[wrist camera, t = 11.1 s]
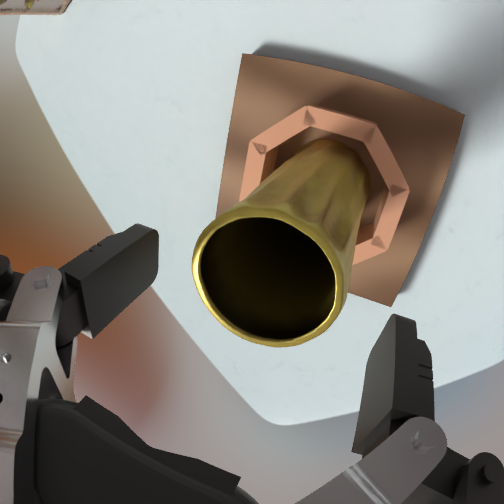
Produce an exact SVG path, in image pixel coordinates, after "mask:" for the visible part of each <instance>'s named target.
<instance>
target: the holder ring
mask: <svg viewBox="0 0 504 504" xmlns="http://www.w3.org/2000/svg"><path fill="white" fill-rule="evenodd" d="M311 127H315V128H319V129H322V130H326V131H330V132H333V133H337V134H340V135H343V136H347V137H350V138H353V139H356V140H360V141H363V142H364V144H365V145H366V147H367V149H368V151H369V152H370V154H371V156H372V158H373V160H374V162H375V163H376V165H377V167H378V169H379V171H380V173H381V175H382V177H383V179H384V181H385V183H386V186H385V189H384V192H383V195H382V198H381V201H380V204H379V207H378V210H377V213H376V216H375V219H374V222H372V223H370V224H368V225H366V226H363V227H361V228H359V230H358V234H357V239H356V246H355V253H354V259H353V264H352V265H354V264H357V263H359V262H362V261H364V260H366V259H369V258H371V257H374V256H376V255H378V254H381V253H383V252H385V251H386V250H388V248H389V245H390V243H391V240H392V238H393V235H394V232H395V230H396V227H397V225H398V222H399V219H400V217H401V214H402V211H403V208H404V206H405V203H406V200H407V197H408V194H409V191H410V190H409V186H408V184H407V181H406V179H405V177H404V175H403V173H402V171H401V169H400V167H399V165H398V163H397V161H396V159H395V157H394V155H393V153H392V151H391V149H390V147H389V145H388V144H387V142H386V140H385V138H384V136H383V134H382V133H381V131H380V129H379V127H378V126H377V124H375V122H372V121H369V120H366V119H362V118H359V117H356V116H353V115H349V114H346V113H342V112H339V111H335V110H331V109H328V108H324V107H320V106H316V105H308V106H304V107H303V108H301V109H299V110H298V111H296V112H294V113H293V114H291V115H289V116H288V117H286V118H285V119H283V120H281V121H280V122H278V123H277V124H275V125H273V126H272V127H270V128H269V129H267V130H266V131H264V132H262V133H261V134H259V135H258V136H256V137H255V138H253V139H252V140H250V142H249V147H248V153H247V158H246V164H245V170H244V175H243V181H242V187H241V193H240V198H239V201H240V202H241V201H242V200H243V199H245V198H246V197H247V196H248V195H249V194H250V193H251V192H252V191H253V190H254V189H255V188H256V187H257V186H258V185H259V184H260V183H262V182H263V181H264V180H265V179H266V178H267V177H269V176H270V175H271V174H272V173H273V172H274V168H275V163H276V158H277V153H278V148H279V146H280V145H282V144H284V143H285V142H287V141H289V140H290V139H292V138H294V137H295V136H297V135H299V134H300V133H302V132H304V131H306V130H307V129H309V128H311Z"/></svg>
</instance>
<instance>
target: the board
mask: <svg viewBox="0 0 504 504" xmlns="http://www.w3.org/2000/svg"><path fill="white" fill-rule="evenodd" d="M308 105H316V106H320V107H324V108H328V109H331V110H335V111H339V112H342V113H346V114H349V115H353V116H356V117H359V118H362V119H366V120H369V121H372V122H375V124H377V126H378V127H379V129H380V131H381V133H382V134H383V136H384V138H385V140H386V142H387V144H388V145H389V147H390V149H391V151H392V153H393V155H394V157H395V159H396V161H397V163H398V165H399V167H400V169H401V171H402V173H403V175H404V177H405V179H406V181H407V184H408V186H409V190H410V191H409V194H408V197H407V200H406V203H405V206H404V208H403V211H402V214H401V217H400V219H399V222H398V225H397V227H396V230H395V232H394V235H393V238H392V240H391V243H390V245H389V248H388V250H386V251H385V252H383V253H381V254H378V255H376V256H374V257H371V258H369V259H366V260H364V261H362V262H359V263H357V264H354V265H352V270H351V277H350V283H349V288H348V293H351V294H354V295H357V296H360V297H363V298H366V299H369V300H372V301H375V302H377V303H380V304H383V305H386V306H389V307H391V306H392V305H393V303H394V301H395V299H396V297H397V295H398V293H399V291H400V288H401V286H402V284H403V282H404V280H405V278H406V276H407V274H408V272H409V269H410V267H411V265H412V263H413V261H414V258H415V256H416V254H417V252H418V249H419V247H420V245H421V242H422V240H423V238H424V235H425V233H426V230H427V228H428V225H429V223H430V220H431V218H432V215H433V213H434V210H435V207H436V205H437V202H438V199H439V197H440V194H441V191H442V188H443V186H444V183H445V180H446V177H447V174H448V171H449V168H450V165H451V162H452V158H453V155H454V152H455V149H456V145H457V142H458V138H459V135H460V131H461V128H462V124H463V120H464V116H465V115H464V114H462V113H460V112H457V111H455V110H453V109H450V108H448V107H446V106H443V105H441V104H438V103H436V102H433V101H431V100H428V99H426V98H423V97H420V96H418V95H415V94H412V93H410V92H407V91H404V90H401V89H398V88H395V87H392V86H389V85H386V84H383V83H379V82H376V81H373V80H370V79H366V78H363V77H359V76H355V75H352V74H348V73H344V72H340V71H336V70H332V69H328V68H324V67H319V66H315V65H310V64H305V63H300V62H295V61H290V60H284V59H278V58H272V57H266V56H259V55H252V54H244V53H242V59H241V64H240V69H239V75H238V80H237V86H236V91H235V97H234V103H233V109H232V115H231V121H230V127H229V133H228V139H227V145H226V151H225V158H224V164H223V171H222V178H221V184H220V191H219V198H218V205H217V212H216V218H217V217H219V216H220V215H221V214H222V213H224V212H225V211H226V210H228V209H229V208H231V207H232V206H234V205H235V204H237V203H239V202H240V201H239V198H240V193H241V187H242V181H243V175H244V170H245V164H246V158H247V153H248V147H249V142H250V140H252V139H253V138H255V137H256V136H258V135H259V134H261V133H262V132H264V131H266V130H267V129H269V128H270V127H272V126H273V125H275V124H277V123H278V122H280V121H281V120H283V119H285V118H286V117H288V116H289V115H291V114H293V113H294V112H296V111H298V110H299V109H301V108H303V107H304V106H308ZM318 140H330V141H336V142H340V143H342V144H344V145H346V146H348V147H349V148H351V149H352V150H354V151H355V152H356V153H357V154H358V155H359V157H360V158H361V160H362V161H363V163H364V164H365V166H366V168H367V170H368V173H369V179H370V193H369V196H368V199H367V201H366V203H365V206H364V209H363V212H362V216H361V220H360V225H359V228H361V227H363V226H366V225H368V224H370V223H372V222H374V219H375V216H376V213H377V210H378V207H379V204H380V201H381V198H382V195H383V192H384V189H385V186H386V183H385V181H384V179H383V177H382V175H381V173H380V171H379V169H378V167H377V165H376V163H375V162H374V160H373V158H372V156H371V154H370V152H369V151H368V149H367V147H366V145H365V144H364V142H363V141H360V140H356V139H353V138H350V137H347V136H343V135H340V134H337V133H333V132H330V131H326V130H322V129H319V128H315V127H311V128H309V129H307V130H306V131H304V132H302V133H300V134H299V135H297V136H295V137H294V138H292V139H290V140H289V141H287V142H285V143H284V144H282V145H280V146H279V148H278V153H277V158H276V163H275V168H274V171H275V170H276V169H278V168H279V167H280V166H281V165H282V164H283V163H284V162H285V161H287V160H288V159H289V158H291V157H292V156H293V155H294V154H295V152H296V151H297V150H299V149H300V148H302V147H303V146H305V145H307V144H308V143H311V142H314V141H318Z"/></svg>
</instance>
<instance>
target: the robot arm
mask: <svg viewBox="0 0 504 504" xmlns="http://www.w3.org/2000/svg"><path fill="white" fill-rule="evenodd" d="M158 252H159V234H158V232H157V230H155V229H152V228H149V227H146V226H144V225H141V224H135V225H133V226H131V227H130V228H128V229H127V230H125V231H124V232H121V233H117V234H114V235H111V236H108V237H106V238H105V239H103V240H102V241H100V242H99V243H97V245H94V246H92V247H91V248H89V250H88V251H87V250H86V251H85V252H83V253H82V254H80V255H79V256H77V257H76V258H74V259H73V260H71V261H70V262H68V263H67V264H65V265H64V266H62V267H61V268H60V269H56V268H54V267H49V266H42V267H37V268H34V269H32V270H30V271H28V272H27V273H26V274H22V273H18V272H13V271H12V267H11V264H10V260H9V259H8V257H6V256H3V255H0V504H258V503H257V501H256V500H255V499H254V498H253V497H251V496H250V495H249V494H248V493H246V491H244V490H242V489H241V488H240V487H238V486H237V485H238V483H239V480H240V478H241V477H239V476H237V475H234V474H232V473H229V472H227V471H224V470H222V469H219V468H217V467H215V466H213V465H210V464H208V463H206V462H204V461H201V460H199V459H196V458H191V457H187V456H183V455H178V454H174V453H170V452H166V451H163V450H159V449H155V448H152V447H150V446H149V445H147V444H146V443H145V442H144V441H143V440H142V439H141V438H140V437H138V436H137V435H136V434H135V433H134V432H133V431H132V430H131V429H130V428H129V427H128V426H127V425H126V424H125V423H124V422H123V421H122V420H121V419H120V418H119V417H118V416H117V415H115V414H114V413H112V412H111V411H109V410H107V409H106V408H104V407H103V406H101V405H100V404H98V403H96V402H95V401H94V400H92V399H91V398H89V397H88V396H85V397H84V398H83V399H82V400H81V401H80V402H79V403H77V402H76V399H75V394H74V373H75V361H76V351H77V337H76V336H77V335H78V334H79V333H80V332H82V333H84V334H85V335H87V336H88V337H90V338H92V339H93V338H94V337H95V336H96V335H97V334H98V333H100V332H101V331H102V330H103V329H104V328H105V327H106V326H107V325H108V324H109V323H110V322H111V321H112V320H113V319H114V318H115V317H116V316H118V315H119V314H120V313H121V312H122V311H123V310H124V309H125V308H126V307H127V306H128V305H129V304H130V303H132V302H133V301H134V300H135V299H136V298H137V297H138V296H139V295H140V294H141V293H142V292H143V291H145V289H147V288H148V287H149V286H150V285H151V284H152V283H153V282H154V280H155V278H156V276H157V273H158ZM432 380H433V370H432V357H431V353H430V351H429V349H428V347H427V345H426V343H425V341H423V340H420V339H417V329H416V322H415V320H412V319H409V318H406V317H403V316H400V315H397V314H392V315H391V317H390V318H389V320H388V322H387V324H386V325H385V327H384V329H383V331H382V333H381V334H380V336H379V338H378V340H377V341H376V343H375V345H374V347H373V349H372V351H371V353H370V355H369V358H368V361H367V365H366V372H365V379H364V386H363V393H362V399H361V405H360V411H359V416H358V422H357V427H356V433H355V437H354V442H353V447H352V452H353V453H357V454H361V455H363V456H362V459H361V460H360V461H359V462H358V463H356V464H355V465H354V466H352V467H349V468H348V469H346V470H345V471H344V472H342V473H341V474H339V475H338V476H336V477H335V478H334V479H332V480H331V481H329V482H328V483H326V484H325V485H323V486H322V487H320V488H319V489H318V490H316V491H314V492H313V493H311V494H310V495H308V496H306V497H305V498H303V499H302V500H300V501H298V502H297V503H295V504H504V467H503V465H502V463H501V461H500V460H499V459H498V458H497V457H496V456H494V455H493V454H491V453H487V452H484V453H479V454H477V455H476V456H474V457H473V458H472V459H468V458H466V457H464V456H462V455H460V454H459V453H457V452H454V451H453V450H451V449H450V448H448V447H447V439H446V436H445V433H444V432H443V430H442V428H441V427H440V426H439V425H438V424H437V423H436V422H435V421H434V420H435V419H434V387H433V381H432Z"/></svg>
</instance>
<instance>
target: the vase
mask: <svg viewBox="0 0 504 504" xmlns="http://www.w3.org/2000/svg"><path fill="white" fill-rule="evenodd" d="M369 193H370V179H369V173H368V170H367V168H366V166H365V164H364V163H363V161H362V160H361V158H360V157H359V155H358V154H357V153H356V152H355V151H354V150H352V149H351V148H349V147H348V146H346V145H344V144H342V143H340V142H336V141H330V140H318V141H314V142H311V143H308V144H307V145H305V146H303V147H302V148H300V149H299V150H297V151H296V152H295V154H294V155H293V156H292V157H291V158H289V159H288V160H287V161H285V162H284V163H283V164H282V165H281V166H280V167H279V168H278V169H276V170H275V171H274V172H273V173H272V174H271V175H270V176H269V177H267V178H266V179H265V180H264V181H263V182H262V183H260V184H259V185H258V186H257V187H256V188H255V189H254V190H253V191H252V192H251V193H250V194H249V195H248V196H247V197H246V198H245V199H243V200H242V201H241V202H239V203H237V204H235V205H234V206H232V207H231V208H229V209H228V210H226V211H225V212H224V213H222V214H221V215H220V216H219V217H217V218H216V219H215V220H214V221H212V222H211V223H210V224H209V225H208V226H207V227H206V228H205V229H204V230H203V232H202V233H201V235H200V236H199V238H198V240H197V242H196V245H195V248H194V252H193V257H192V274H193V278H194V282H195V285H196V288H197V290H198V293H199V295H200V297H201V299H202V301H203V303H204V304H205V306H206V307H207V308H208V310H209V311H210V312H211V314H212V315H213V316H214V317H215V318H216V319H217V320H218V321H219V322H220V323H221V324H222V325H223V326H224V327H225V328H227V329H228V330H229V331H231V332H232V333H234V334H235V335H237V336H239V337H241V338H242V339H245V340H247V341H250V342H253V343H256V344H261V345H266V346H271V347H290V346H296V345H300V344H302V343H305V342H307V341H309V340H311V339H314V338H315V337H317V336H319V335H321V334H322V333H323V332H325V331H326V330H327V329H328V328H329V327H330V326H331V324H332V323H333V322H334V321H335V320H336V318H337V317H338V315H339V314H340V312H341V310H342V308H343V306H344V304H345V301H346V298H347V293H348V288H349V283H350V277H351V270H352V264H353V259H354V253H355V246H356V239H357V234H358V230H359V225H360V220H361V216H362V212H363V209H364V206H365V203H366V201H367V199H368V196H369Z"/></svg>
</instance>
